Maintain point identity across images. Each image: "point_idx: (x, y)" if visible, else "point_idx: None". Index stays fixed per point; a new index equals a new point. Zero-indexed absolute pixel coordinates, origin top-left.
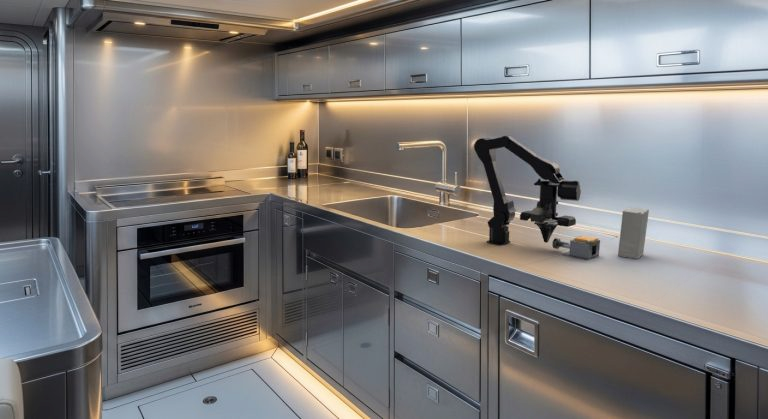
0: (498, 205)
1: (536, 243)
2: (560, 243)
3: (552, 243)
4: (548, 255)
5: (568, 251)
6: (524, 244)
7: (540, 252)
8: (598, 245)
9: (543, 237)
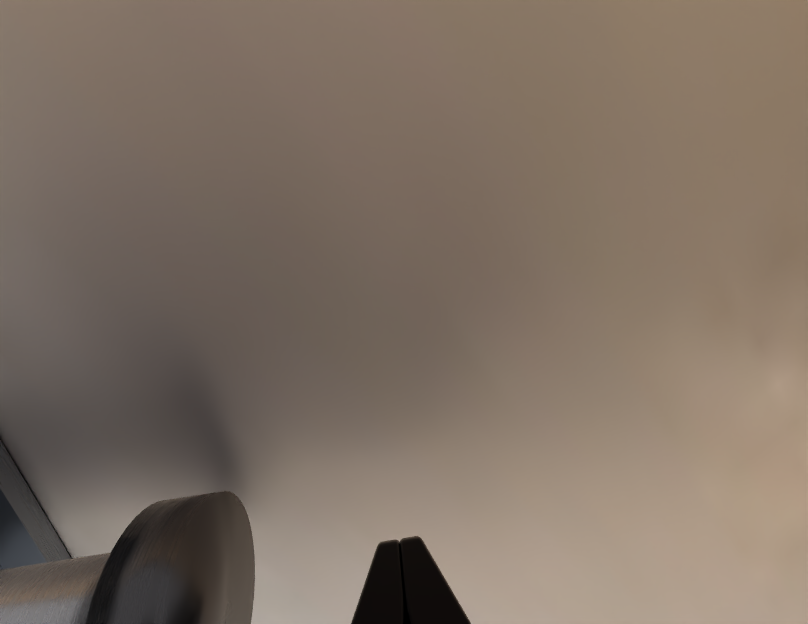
0: None
1: (620, 558)
2: (41, 614)
3: (185, 536)
4: (43, 174)
5: (34, 543)
6: (717, 430)
7: (291, 243)
8: None
9: (445, 618)
